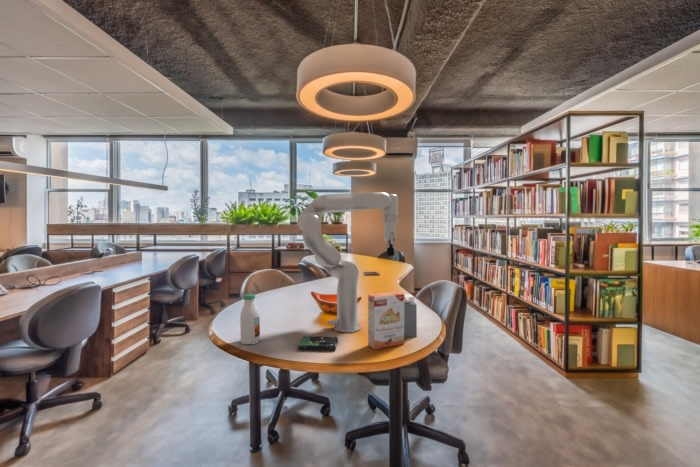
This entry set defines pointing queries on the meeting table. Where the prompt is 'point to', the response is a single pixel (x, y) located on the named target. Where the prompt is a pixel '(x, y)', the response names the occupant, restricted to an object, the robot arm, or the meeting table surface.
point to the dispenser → (410, 319)
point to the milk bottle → (249, 321)
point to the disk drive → (318, 343)
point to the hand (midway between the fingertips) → (390, 255)
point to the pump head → (408, 298)
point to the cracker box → (385, 320)
